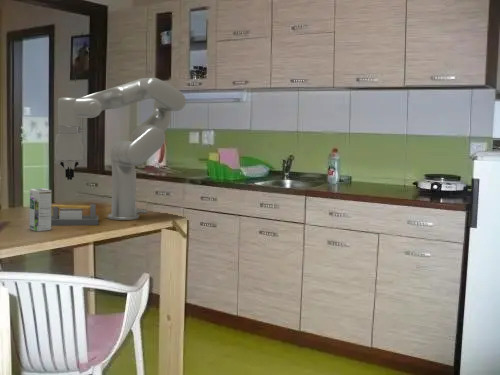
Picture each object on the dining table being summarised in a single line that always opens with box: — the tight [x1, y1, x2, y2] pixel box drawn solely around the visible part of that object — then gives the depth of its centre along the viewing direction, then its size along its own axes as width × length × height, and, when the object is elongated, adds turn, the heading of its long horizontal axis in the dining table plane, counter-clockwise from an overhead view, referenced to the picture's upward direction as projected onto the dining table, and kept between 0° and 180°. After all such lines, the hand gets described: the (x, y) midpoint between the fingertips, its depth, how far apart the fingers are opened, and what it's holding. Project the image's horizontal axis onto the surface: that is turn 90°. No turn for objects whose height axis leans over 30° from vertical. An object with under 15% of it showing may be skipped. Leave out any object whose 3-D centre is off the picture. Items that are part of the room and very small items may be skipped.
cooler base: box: [51, 203, 99, 226], centre depth 205 cm, size 18×10×7 cm, turn 106°
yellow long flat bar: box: [51, 204, 94, 210], centre depth 205 cm, size 16×3×1 cm, turn 106°
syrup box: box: [29, 187, 52, 232], centre depth 189 cm, size 6×6×14 cm
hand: (69, 179), depth 203 cm, fingers closed
